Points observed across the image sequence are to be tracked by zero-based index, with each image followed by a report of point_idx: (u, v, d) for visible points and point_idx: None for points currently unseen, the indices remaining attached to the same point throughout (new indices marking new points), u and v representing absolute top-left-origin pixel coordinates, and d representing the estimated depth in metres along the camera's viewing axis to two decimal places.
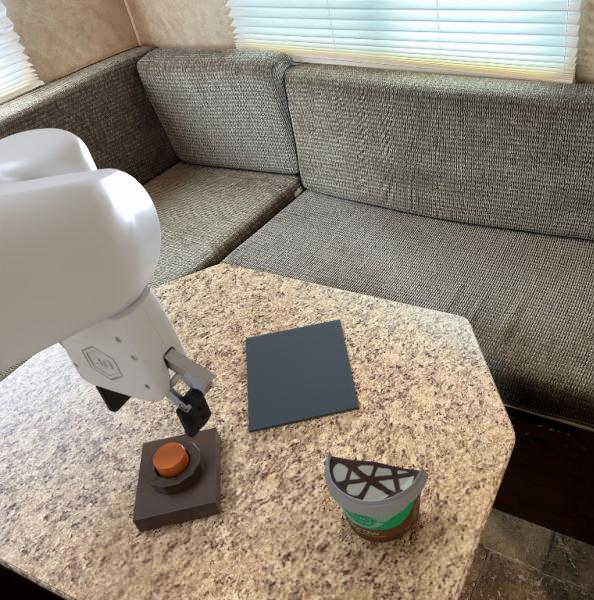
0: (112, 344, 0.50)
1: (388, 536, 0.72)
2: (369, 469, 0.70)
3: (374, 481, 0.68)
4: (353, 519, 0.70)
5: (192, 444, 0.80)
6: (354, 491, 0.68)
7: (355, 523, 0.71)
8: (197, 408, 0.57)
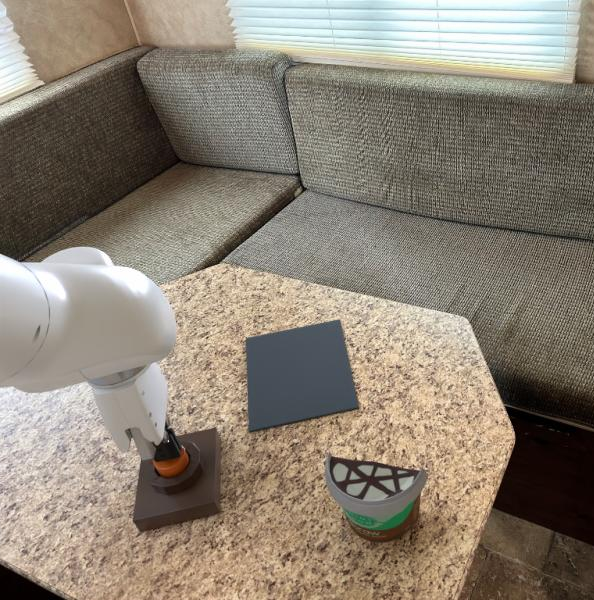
0: None
1: (388, 536, 0.72)
2: (369, 469, 0.70)
3: (374, 481, 0.68)
4: (353, 519, 0.70)
5: (192, 444, 0.80)
6: (354, 491, 0.68)
7: (355, 523, 0.71)
8: (157, 448, 0.74)
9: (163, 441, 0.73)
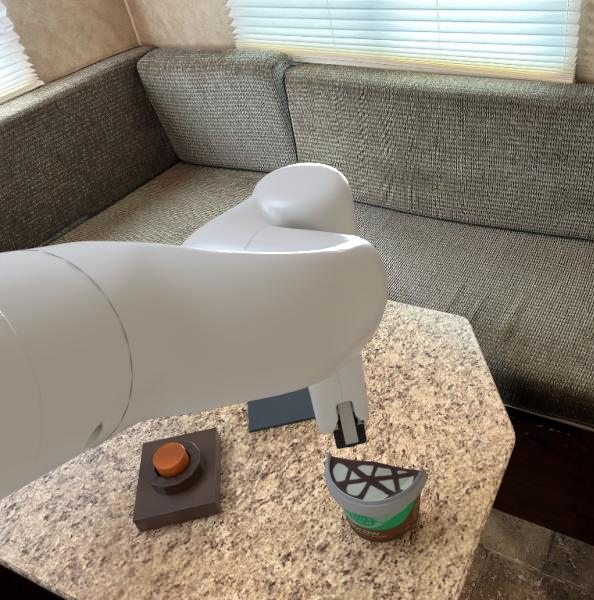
0: None
1: (388, 536, 0.72)
2: (369, 469, 0.70)
3: (374, 481, 0.68)
4: (353, 519, 0.70)
5: (192, 444, 0.80)
6: (354, 491, 0.68)
7: (355, 523, 0.71)
8: None
9: (357, 422, 0.59)
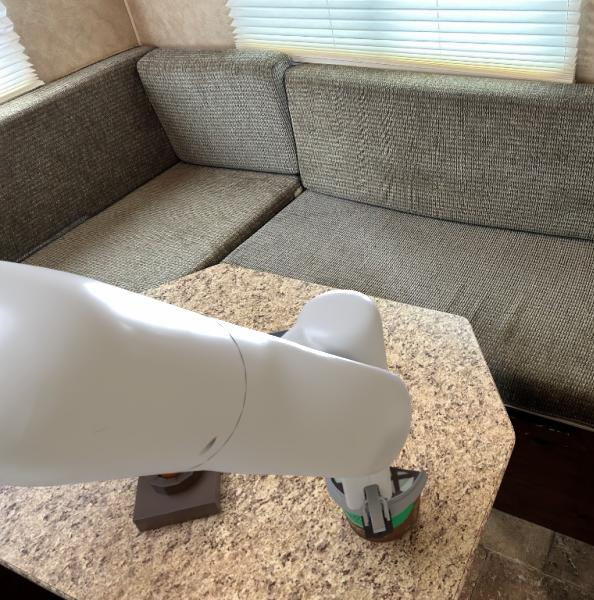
0: None
1: (388, 537, 0.72)
2: None
3: None
4: (353, 520, 0.70)
5: None
6: None
7: (355, 524, 0.71)
8: None
9: (386, 519, 0.64)
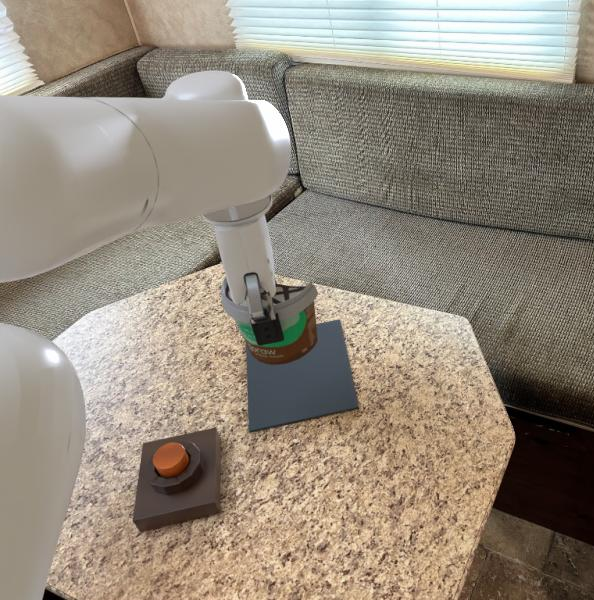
0: None
1: (285, 356, 0.76)
2: (262, 288, 0.74)
3: None
4: (250, 338, 0.75)
5: (192, 444, 0.80)
6: (246, 304, 0.72)
7: (252, 343, 0.75)
8: (264, 327, 0.69)
9: (271, 317, 0.68)
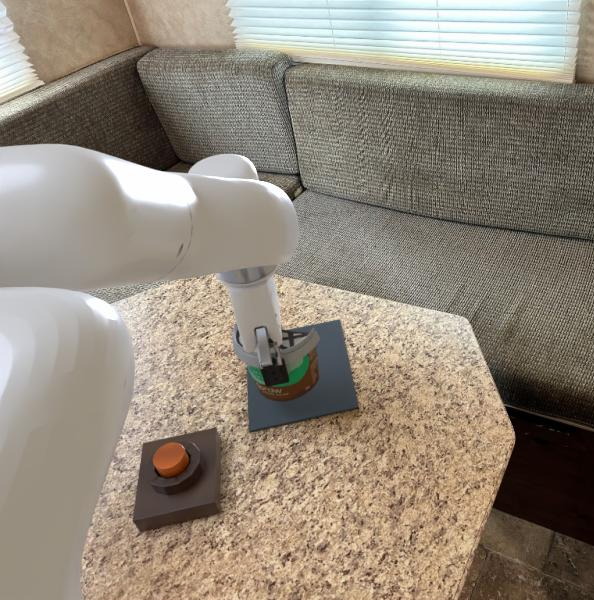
0: None
1: (290, 394, 0.84)
2: None
3: None
4: (258, 378, 0.83)
5: (192, 444, 0.80)
6: (255, 349, 0.80)
7: (260, 383, 0.83)
8: (271, 371, 0.78)
9: (278, 363, 0.76)
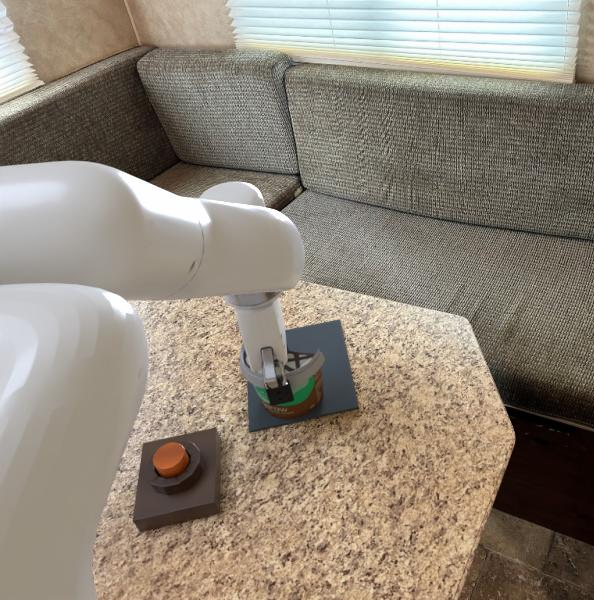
0: None
1: (295, 413, 0.87)
2: None
3: None
4: (264, 398, 0.85)
5: (192, 444, 0.80)
6: None
7: (267, 402, 0.86)
8: (276, 391, 0.79)
9: (283, 383, 0.78)
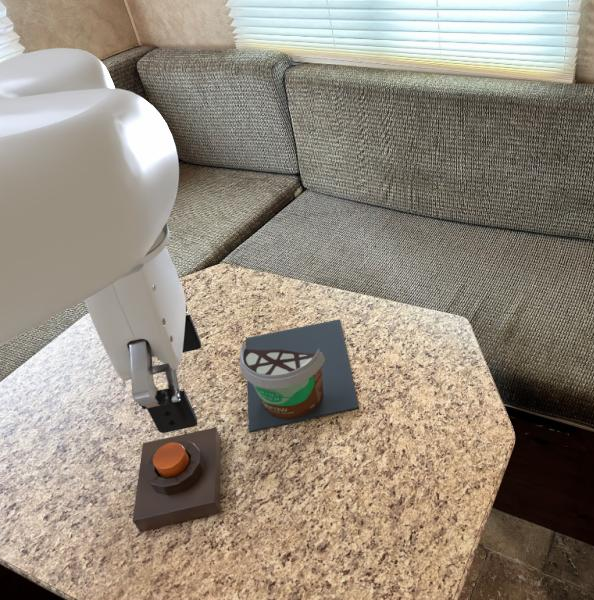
0: None
1: (295, 413, 0.87)
2: (275, 354, 0.84)
3: (279, 363, 0.83)
4: (265, 398, 0.85)
5: (192, 444, 0.80)
6: (262, 371, 0.83)
7: (267, 402, 0.86)
8: (164, 411, 0.49)
9: (172, 399, 0.48)
